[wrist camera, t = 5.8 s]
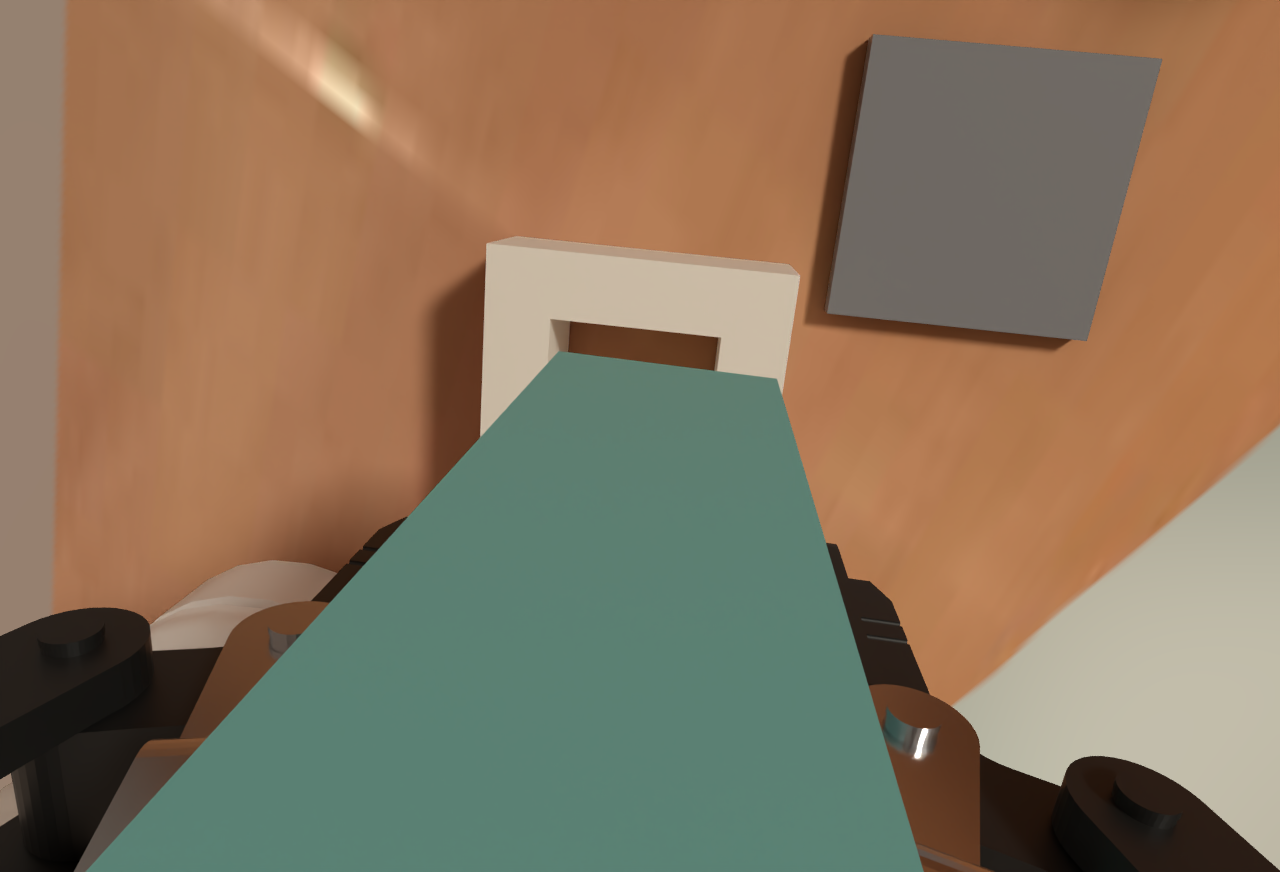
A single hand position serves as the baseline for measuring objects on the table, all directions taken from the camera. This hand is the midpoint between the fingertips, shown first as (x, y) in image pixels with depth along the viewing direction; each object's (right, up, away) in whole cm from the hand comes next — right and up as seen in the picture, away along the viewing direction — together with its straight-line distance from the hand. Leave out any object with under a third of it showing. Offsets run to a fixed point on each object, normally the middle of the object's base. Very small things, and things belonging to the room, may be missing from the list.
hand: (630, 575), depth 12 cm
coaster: (+12, +10, +15) cm, 22 cm away
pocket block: (0, +4, +18) cm, 19 cm away
